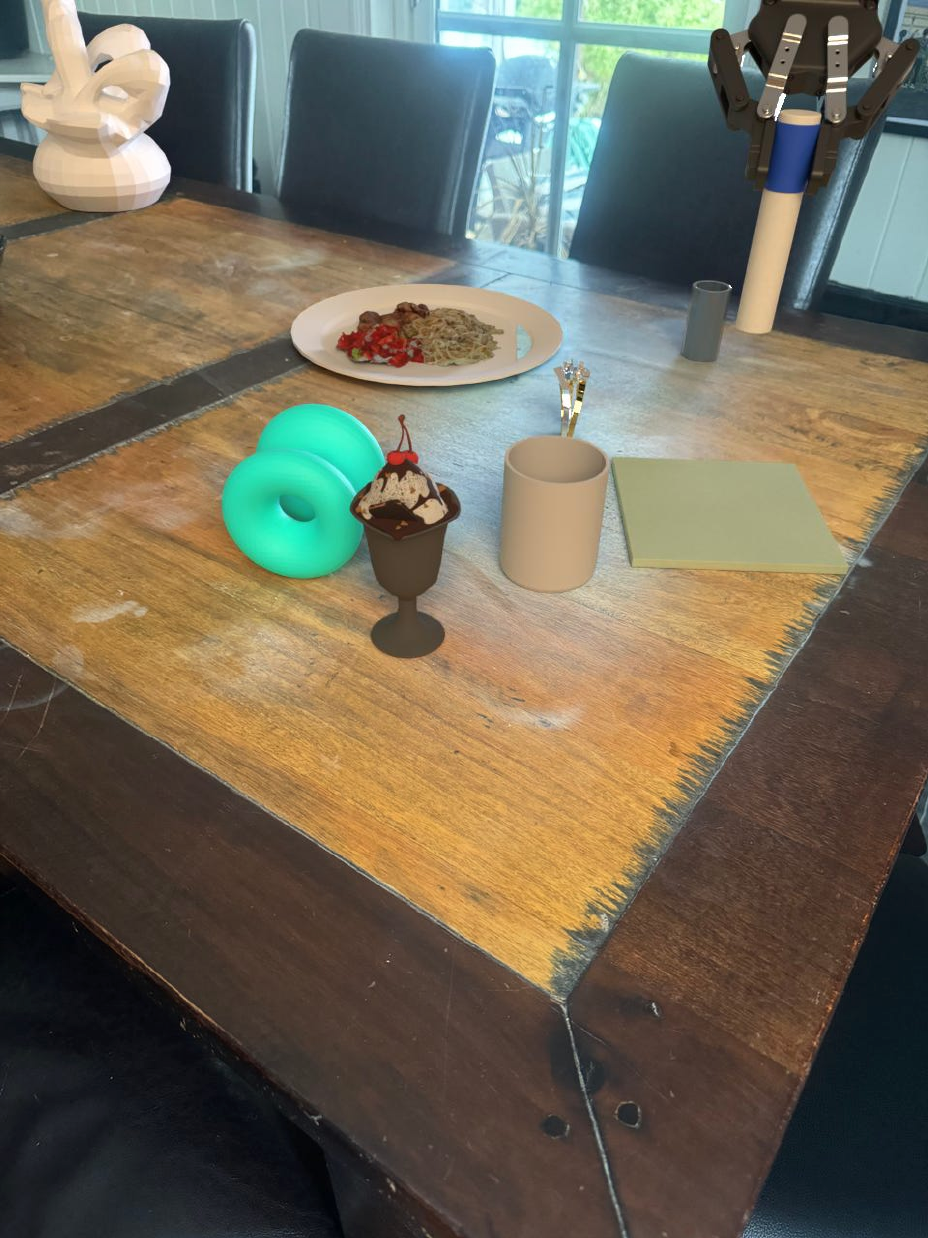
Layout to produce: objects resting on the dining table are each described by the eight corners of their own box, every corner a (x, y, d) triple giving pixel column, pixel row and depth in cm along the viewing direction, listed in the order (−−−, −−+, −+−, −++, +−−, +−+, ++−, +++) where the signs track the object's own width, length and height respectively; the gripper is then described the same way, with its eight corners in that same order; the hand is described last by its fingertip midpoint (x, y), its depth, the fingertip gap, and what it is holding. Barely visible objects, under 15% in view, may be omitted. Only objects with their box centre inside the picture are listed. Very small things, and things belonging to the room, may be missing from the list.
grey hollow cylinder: (713, 353, 102) (727, 280, 97) (719, 367, 99) (734, 292, 94) (678, 352, 102) (690, 279, 97) (683, 366, 99) (696, 291, 94)
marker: (768, 321, 68) (816, 109, 59) (776, 335, 66) (828, 117, 57) (730, 320, 68) (773, 108, 59) (737, 333, 66) (783, 115, 57)
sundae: (416, 593, 65) (413, 394, 56) (477, 640, 61) (485, 434, 51) (338, 629, 61) (321, 423, 52) (397, 681, 57) (390, 468, 48)
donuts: (226, 578, 66) (204, 453, 60) (270, 508, 73) (256, 391, 67) (361, 593, 65) (353, 468, 58) (391, 520, 72) (388, 403, 66)
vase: (193, 216, 142) (151, -65, 120) (39, 226, 135) (-34, -69, 114) (174, 175, 163) (136, -70, 141) (41, 182, 157) (-21, -74, 135)
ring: (580, 466, 80) (589, 380, 75) (543, 463, 80) (551, 377, 75) (583, 431, 86) (592, 349, 81) (548, 428, 86) (556, 346, 81)
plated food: (596, 324, 108) (600, 295, 106) (497, 423, 86) (499, 390, 84) (375, 284, 118) (374, 257, 116) (236, 365, 96) (232, 333, 94)
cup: (488, 585, 66) (493, 476, 60) (517, 516, 73) (524, 413, 68) (587, 602, 64) (602, 492, 59) (606, 530, 72) (621, 426, 66)
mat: (792, 471, 80) (794, 462, 80) (846, 575, 68) (849, 566, 67) (611, 464, 81) (612, 456, 80) (631, 567, 68) (632, 558, 67)
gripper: (728, -107, 59) (681, 139, 57) (960, -101, 56) (919, 157, 54) (716, -11, 66) (674, 209, 64) (921, -3, 63) (884, 228, 61)
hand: (787, 184), depth 59 cm, fingers closed on marker, 2 cm apart
